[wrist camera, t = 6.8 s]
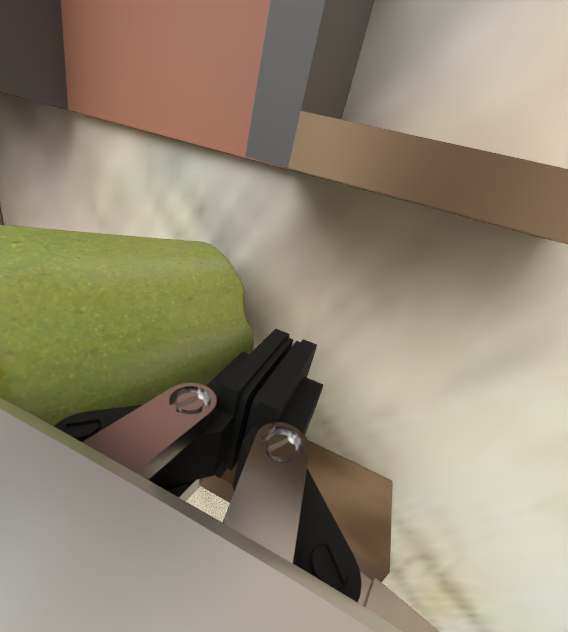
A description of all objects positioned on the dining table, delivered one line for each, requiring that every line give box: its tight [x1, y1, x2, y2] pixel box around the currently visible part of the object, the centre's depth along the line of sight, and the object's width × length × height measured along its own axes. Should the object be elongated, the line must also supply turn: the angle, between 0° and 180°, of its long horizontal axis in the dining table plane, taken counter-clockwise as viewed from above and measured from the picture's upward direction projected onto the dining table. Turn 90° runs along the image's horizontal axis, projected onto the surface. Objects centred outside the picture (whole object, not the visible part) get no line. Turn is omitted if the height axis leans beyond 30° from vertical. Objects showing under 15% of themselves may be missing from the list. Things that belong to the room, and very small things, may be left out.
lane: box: [0, 91, 568, 582], centre depth 12 cm, size 27×14×6 cm, turn 75°
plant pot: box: [0, 225, 253, 426], centre depth 10 cm, size 9×9×9 cm
